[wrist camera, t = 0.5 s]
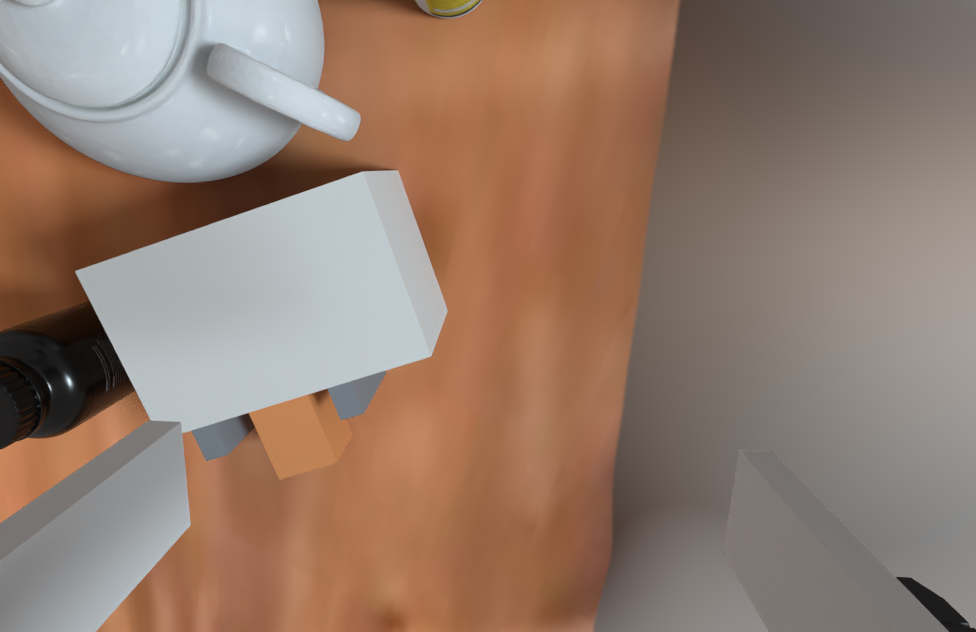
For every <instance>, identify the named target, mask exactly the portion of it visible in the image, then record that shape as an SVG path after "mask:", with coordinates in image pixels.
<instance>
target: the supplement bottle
mask: <svg viewBox="0 0 976 632" xmlns="http://www.w3.org/2000/svg"><path fill="white" fill-rule="evenodd" d="M134 391H135V388H134V386H133V384H132V382H131V380H130V378H129V377H128V375H127V373H126V371H125V369H124V367H123V365H122V363H121V361H120V359H119V357H118V355H117V353H116V351H115V349H114V347H113V345H112V343H111V341H110V339H109V337H108V335H107V333H106V331H105V329H104V327H103V326H102V324H101V322H100V320H99V318H98V316H97V314H96V312H95V310H94V308H93V306H92V304H91V302H90V301H89V302H86V303H83V304H80V305H77V306H74V307H71V308H68V309H65V310H62V311H59V312H56V313H53V314H50V315H47V316H44V317H41V318H38V319H35V320H32V321H29V322H26V323H23V324H20V325H17V326H14V327H11V328H8V329H6V330H3V331H1V332H0V449H3V448H5V447H7V446H9V445H11V444H13V443H14V442H16V441H20V440H23V439H25V438H37V439H39V438H50V437H55V436H59V435H62V434H64V433H66V432H68V431H70V430H72V429H74V428H75V427H77V426H79V425H80V424H82V423H84V422H85V421H87V420H88V419H90V418H92V417H93V416H95V415H97V414H98V413H100V412H101V411H103V410H105V409H106V408H108V407H110V406H111V405H113V404H114V403H116V402H118V401H119V400H121V399H123V398H124V397H126V396H127V395H129V394H131V393H132V392H134Z"/></svg>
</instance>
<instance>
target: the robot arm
mask: <svg viewBox="0 0 976 632" xmlns="http://www.w3.org/2000/svg"><path fill="white" fill-rule="evenodd" d="M189 526H190V514H189V503H188V492H187V481H186V470H185V459H184V448H183V437H182V426H181V422H171V421H151V420H149V421H147V422H146V423H145V424H143V425H142V426H140V427H139V428H137V429H136V430H134V431H133V432H132V433H130V434H129V435H127V436H126V437H124V438H123V439H121V440H120V441H119V442H117V443H116V444H114V445H113V446H111V447H110V448H108V449H107V450H106V451H104V452H103V453H101V454H100V455H98V456H97V457H95V458H94V459H92V460H91V461H90V462H88V463H87V464H85V465H84V466H82V467H81V468H79V469H78V470H77V471H75V472H74V473H72V474H71V475H69V476H68V477H66V478H65V479H64V480H62V481H61V482H59V483H58V484H56V485H55V486H53V487H52V488H51V489H49V490H48V491H46V492H45V493H43V494H42V495H40V496H39V497H38V498H36V499H35V500H33V501H32V502H30V503H29V504H27V505H26V506H25V507H23V508H22V509H20V510H19V511H17V512H16V513H14V514H13V515H12V516H10V517H9V518H7V519H6V520H4V521H3V522H1V523H0V632H96V631H97V629H98V628H99V627H100V626H101V625H102V624H103V623H104V622H105V620H106V619H107V618H108V617H109V616H110V615H111V614H112V613H113V611H114V610H115V609H116V608H117V607H118V606H119V605H120V604H121V603H122V601H123V600H124V599H125V598H126V597H127V596H128V595H129V594H130V592H131V591H132V590H133V589H134V588H135V587H136V586H137V585H138V583H139V582H140V581H141V580H142V579H143V578H144V577H145V576H146V574H147V573H148V572H149V571H150V570H151V569H152V568H153V567H154V566H155V564H156V563H157V562H158V561H159V560H160V559H161V558H162V557H163V555H164V554H165V553H166V552H167V551H168V550H169V549H170V548H171V546H172V545H173V544H174V543H175V542H176V541H177V540H178V539H179V538H180V536H181V535H182V534H183V533H184V532H185V531H186V530H187V529H188V527H189ZM723 554H724V556H725V557H726V559H727V561H728V563H729V564H730V566H731V568H732V569H733V571H734V573H735V574H736V576H737V578H738V579H739V581H740V583H741V585H742V586H743V588H744V590H745V592H746V593H747V595H748V596H749V598H750V600H751V602H752V604H753V605H754V607H755V609H756V610H757V612H758V614H759V616H760V617H761V619H762V621H763V622H764V624H765V626H766V627H767V629H768V631H769V632H976V629H975V628H970V626H969V623H968V622H967V621H966V620H965V619H964V618H963V617H962V616H961V615H960V614H959V613H958V612H957V611H956V610H955V609H954V608H952V607H951V605H949V603H947V602H946V601H945V600H944V599H943V598H942V597H940V596H938V595H937V594H935V593H934V592H932V591H931V590H929V589H927V588H926V587H924V586H923V585H921V584H920V583H918V582H916V581H915V580H913V579H912V578H906V577H895V576H894V575H893V574H892V573H891V572H890V571H889V570H888V569H887V568H886V567H885V566H884V565H883V564H882V563H881V562H880V561H879V560H878V559H877V558H876V557H875V556H874V555H873V554H872V552H871V551H870V550H868V549H867V547H866V546H865V545H864V544H863V543H862V542H861V541H860V540H859V539H858V538H857V537H856V536H855V535H854V534H853V533H852V532H851V531H850V530H849V529H848V528H847V527H846V526H845V525H844V524H843V523H842V522H841V521H840V520H839V519H838V518H837V517H836V516H835V515H834V514H833V513H832V512H831V511H830V510H829V509H828V508H827V507H826V506H825V505H824V504H823V503H822V501H820V499H819V498H818V497H817V496H816V495H815V494H814V493H813V492H812V491H811V490H810V489H809V488H808V487H807V486H806V485H805V484H804V483H803V482H802V481H801V480H800V479H799V478H798V477H797V476H796V475H795V474H794V473H793V472H792V471H791V470H790V469H789V468H788V467H787V466H786V465H785V464H784V463H783V462H782V461H781V460H780V459H779V458H778V457H777V456H776V455H775V454H774V453H773V451H755V450H739V455H738V461H737V468H736V474H735V480H734V486H733V493H732V499H731V505H730V512H729V518H728V524H727V530H726V537H725V543H724V549H723Z"/></svg>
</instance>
